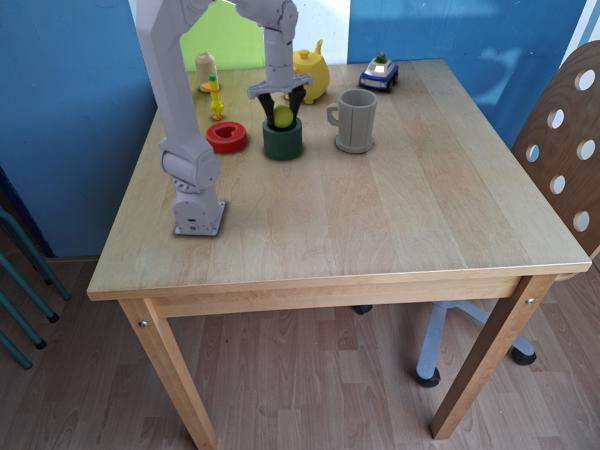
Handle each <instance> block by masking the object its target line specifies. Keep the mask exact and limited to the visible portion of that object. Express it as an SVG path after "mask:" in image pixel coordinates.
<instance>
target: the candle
mask: <svg viewBox="0 0 600 450" xmlns="http://www.w3.org/2000/svg"><path fill="white" fill-rule="evenodd" d="M194 64H195V65H194V66H195V69H196V75H197V80H198V86H199V90H200V91H201V92H202V93H203V92H204V93H210V92H209V91H206V90H204V89H203V88H202V86H201V85H202V84H205V83H209V82H208V81H209V80H208V78H209V75H210V74H215V75H216V78H217V82H218V87H219V88H220V84H219V79H218V71H217V65H216V59H215V57H214V56H213V55H212V54H210V53H209V52H207V51H205V52H203V53H201V52H200V53H197V55H196V57H195V58H194Z"/></svg>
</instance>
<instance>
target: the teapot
mask: <svg viewBox="0 0 600 450" xmlns="http://www.w3.org/2000/svg"><path fill="white" fill-rule="evenodd" d="M323 42H324V40H323V39H319V40H318V41H317V42H316V44H315V47H314V50H313V51H310V50H309V49H300V50H295V51H293V75H301V74H308V73H309V74H310V75H311V76H312V77H313V85H311V86H308V85H305V86H304V89H305V90H306V96H305V97H304V99H303V100H304V103H305V104H307V105H312V104H313V103H314V100H316V99H319V98H320V97H321V96H322V95H323V94H324V93H325V92H326V91H327V89H328V88H329V86H330V82H331V76H330V70H329V67H328V64H327V62H326V59H325V58H324V56H323V55H322V45H323ZM283 94H284V95H285V99H287V100H289V96H288V93H283Z"/></svg>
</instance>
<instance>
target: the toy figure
mask: <svg viewBox="0 0 600 450" xmlns="http://www.w3.org/2000/svg"><path fill="white" fill-rule="evenodd" d="M208 80H209V81H208V82H209V83H205V84H202V85H201V86H202V88H203V89H204V90H206V91H209V92H208V93H210V96H211V98H212V101H211V103H210V109H211V112H213V114H214V115H212V119H213V120H216V121H219V120H220V119H222V118H223V117H222V116H221V114H222V112H223V110H224V108H225V105H224V104H225V103H224V102H223V101H222V100H220V92H221V89H220V86H219V87H218V84H219V81H218V82H217V78H216V75H215V74H210V75H209V78H208Z"/></svg>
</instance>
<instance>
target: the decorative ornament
mask: <svg viewBox="0 0 600 450" xmlns="http://www.w3.org/2000/svg"><path fill="white" fill-rule="evenodd" d="M205 139H206V140H207V141H208V143H209V144H210V145H211V146H212V147H213V152H214V153H216V154H217V153H218V154H231V153H237V152H239V151H240V150H243V149H244V148H245V147H246V145H247V144H248V135H247V129H246V127H245V126H244V125H243V124H241V123H240V122H237V121H231V120H227V121H219V122H217V123H214V124H212V125H210V126H209V127H208V128H207V129H206V131H205Z"/></svg>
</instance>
